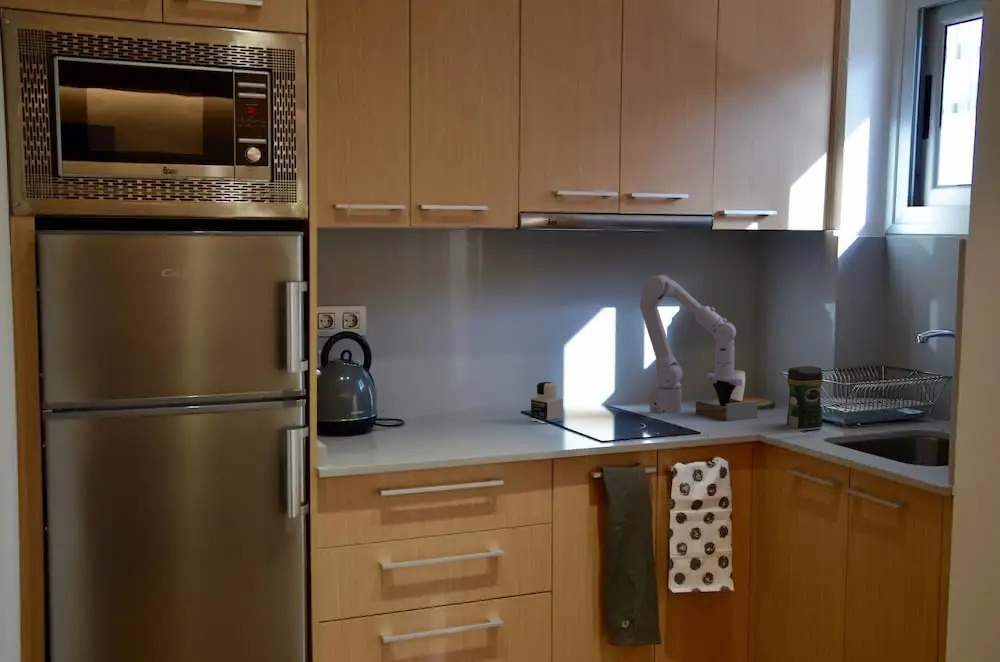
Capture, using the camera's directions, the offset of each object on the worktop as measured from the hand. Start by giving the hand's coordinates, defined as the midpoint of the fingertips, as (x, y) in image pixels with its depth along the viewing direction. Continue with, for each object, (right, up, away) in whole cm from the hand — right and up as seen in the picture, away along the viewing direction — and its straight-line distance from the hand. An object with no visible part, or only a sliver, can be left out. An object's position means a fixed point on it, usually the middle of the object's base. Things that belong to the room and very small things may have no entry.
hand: (724, 406), depth 302 cm
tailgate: (+3, -3, -7) cm, 8 cm away
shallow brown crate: (0, -4, 0) cm, 4 cm away
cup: (+6, -2, +18) cm, 19 cm away
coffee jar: (+19, -6, -17) cm, 26 cm away
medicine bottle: (-55, -5, -1) cm, 55 cm away
